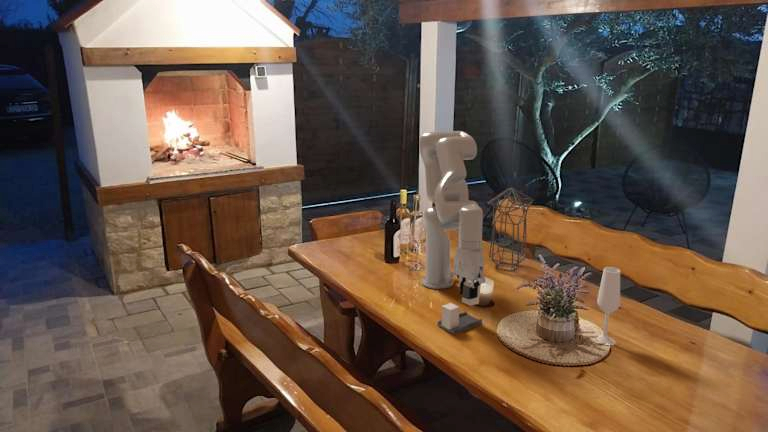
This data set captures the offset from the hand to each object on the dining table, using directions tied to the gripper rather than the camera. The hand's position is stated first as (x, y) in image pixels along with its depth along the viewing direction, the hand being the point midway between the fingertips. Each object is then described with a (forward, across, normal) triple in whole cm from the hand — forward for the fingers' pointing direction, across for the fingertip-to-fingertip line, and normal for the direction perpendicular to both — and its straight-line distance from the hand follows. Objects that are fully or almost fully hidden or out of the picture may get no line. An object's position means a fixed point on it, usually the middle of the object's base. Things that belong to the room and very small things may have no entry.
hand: (468, 295), depth 194 cm
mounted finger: (+9, 0, -7) cm, 12 cm away
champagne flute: (+10, +36, +25) cm, 45 cm away
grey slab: (+10, 0, -3) cm, 11 cm away
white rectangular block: (+3, 0, +1) cm, 3 cm away
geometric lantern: (+9, -28, +50) cm, 58 cm away
